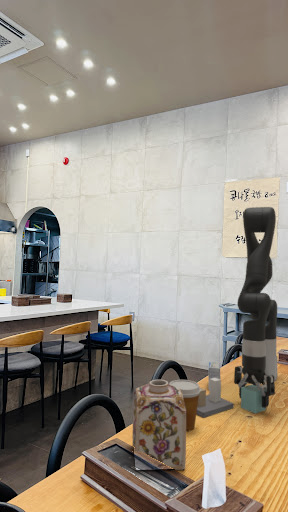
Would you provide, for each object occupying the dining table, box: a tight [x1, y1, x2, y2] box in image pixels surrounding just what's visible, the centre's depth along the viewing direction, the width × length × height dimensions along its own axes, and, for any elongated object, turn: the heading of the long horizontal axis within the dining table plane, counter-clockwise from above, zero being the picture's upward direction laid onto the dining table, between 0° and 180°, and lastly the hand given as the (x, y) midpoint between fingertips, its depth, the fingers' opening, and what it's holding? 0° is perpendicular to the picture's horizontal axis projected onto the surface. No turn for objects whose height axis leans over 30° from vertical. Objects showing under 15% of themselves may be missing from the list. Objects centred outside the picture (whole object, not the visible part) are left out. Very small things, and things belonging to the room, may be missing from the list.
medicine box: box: [207, 361, 221, 391], centre depth 132 cm, size 8×4×9 cm, turn 168°
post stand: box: [196, 378, 235, 419], centre depth 113 cm, size 14×10×8 cm
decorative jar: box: [132, 379, 187, 471], centre depth 83 cm, size 12×12×18 cm
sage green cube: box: [240, 384, 267, 414], centre depth 113 cm, size 6×6×7 cm
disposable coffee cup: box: [168, 379, 201, 432], centre depth 99 cm, size 10×10×12 cm
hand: (253, 402), depth 112 cm, fingers open, 8 cm apart
